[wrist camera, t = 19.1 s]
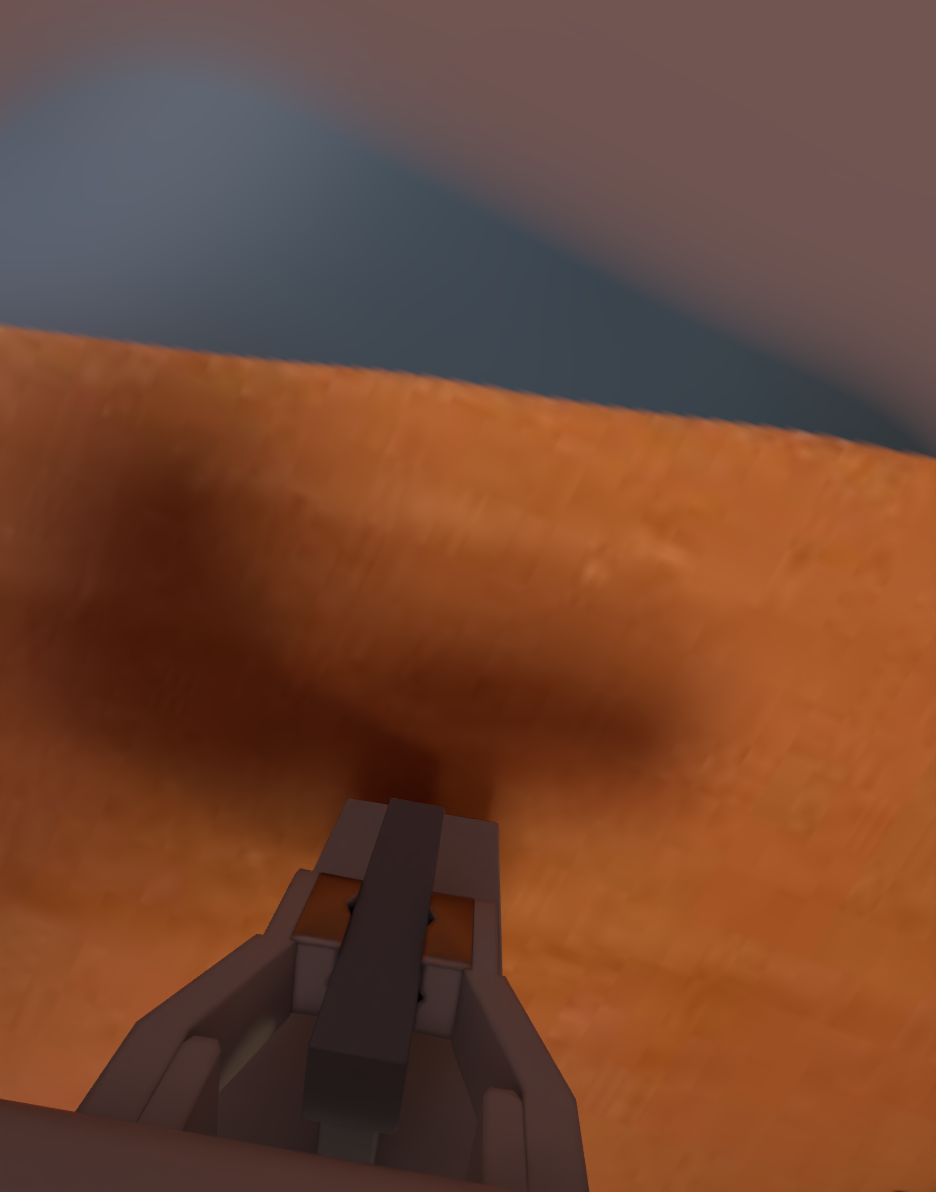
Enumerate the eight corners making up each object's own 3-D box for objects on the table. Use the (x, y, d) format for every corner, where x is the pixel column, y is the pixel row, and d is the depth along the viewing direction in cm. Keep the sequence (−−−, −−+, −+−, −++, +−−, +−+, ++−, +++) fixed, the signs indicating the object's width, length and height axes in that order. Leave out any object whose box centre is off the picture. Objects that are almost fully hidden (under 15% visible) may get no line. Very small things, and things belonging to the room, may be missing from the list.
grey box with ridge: (334, 920, 19) (356, 718, 17) (477, 945, 19) (515, 744, 17) (163, 1382, 9) (166, 1027, 7) (463, 1437, 9) (553, 1093, 7)
